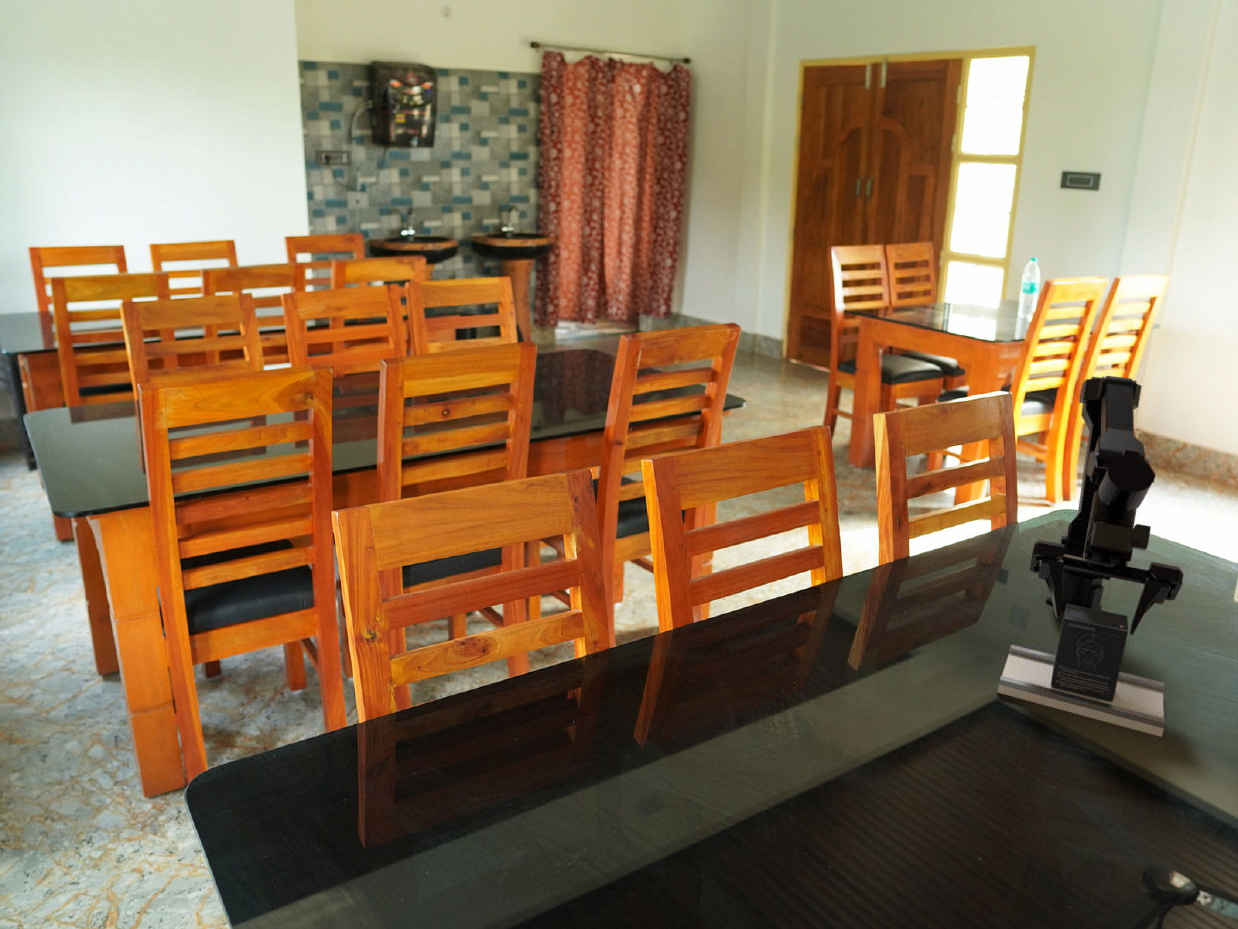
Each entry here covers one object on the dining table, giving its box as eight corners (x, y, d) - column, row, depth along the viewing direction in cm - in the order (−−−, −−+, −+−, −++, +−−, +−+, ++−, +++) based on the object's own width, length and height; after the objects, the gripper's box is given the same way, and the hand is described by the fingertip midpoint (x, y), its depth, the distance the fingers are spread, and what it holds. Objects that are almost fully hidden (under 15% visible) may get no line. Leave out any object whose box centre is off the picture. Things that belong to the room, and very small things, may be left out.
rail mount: (997, 692, 136) (1000, 679, 135) (1008, 657, 146) (1011, 644, 146) (1161, 737, 127) (1165, 723, 127) (1161, 695, 138) (1164, 682, 137)
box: (1112, 685, 137) (1128, 615, 134) (1112, 703, 132) (1129, 631, 129) (1051, 670, 141) (1065, 601, 138) (1049, 687, 136) (1064, 616, 133)
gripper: (1045, 485, 139) (1025, 585, 132) (1197, 511, 131) (1184, 619, 125) (1039, 522, 148) (1019, 617, 141) (1180, 548, 140) (1167, 651, 134)
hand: (1094, 625), depth 135 cm, fingers open, 9 cm apart
